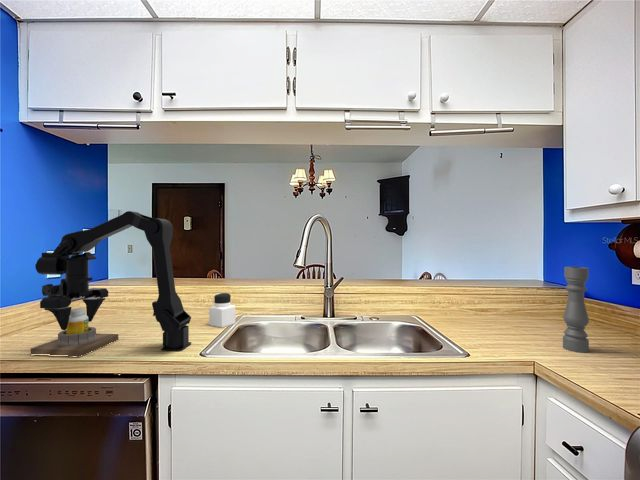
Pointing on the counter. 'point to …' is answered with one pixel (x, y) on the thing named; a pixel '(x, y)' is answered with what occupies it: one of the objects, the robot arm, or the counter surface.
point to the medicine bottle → (222, 311)
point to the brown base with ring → (75, 343)
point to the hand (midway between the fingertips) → (77, 325)
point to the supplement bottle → (77, 322)
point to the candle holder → (576, 310)
